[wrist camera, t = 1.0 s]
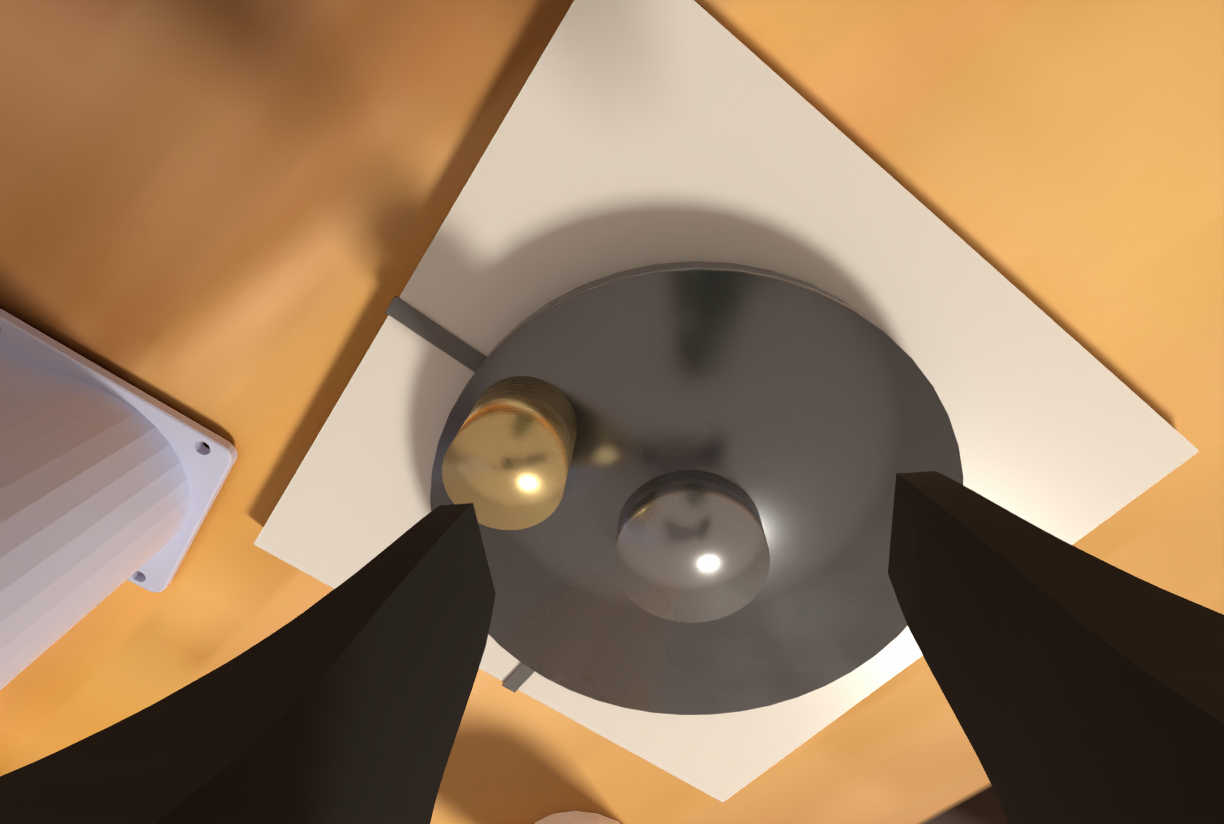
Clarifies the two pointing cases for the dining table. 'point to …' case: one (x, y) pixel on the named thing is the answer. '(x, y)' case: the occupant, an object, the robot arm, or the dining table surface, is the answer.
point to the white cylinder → (576, 818)
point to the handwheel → (692, 485)
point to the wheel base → (707, 232)
